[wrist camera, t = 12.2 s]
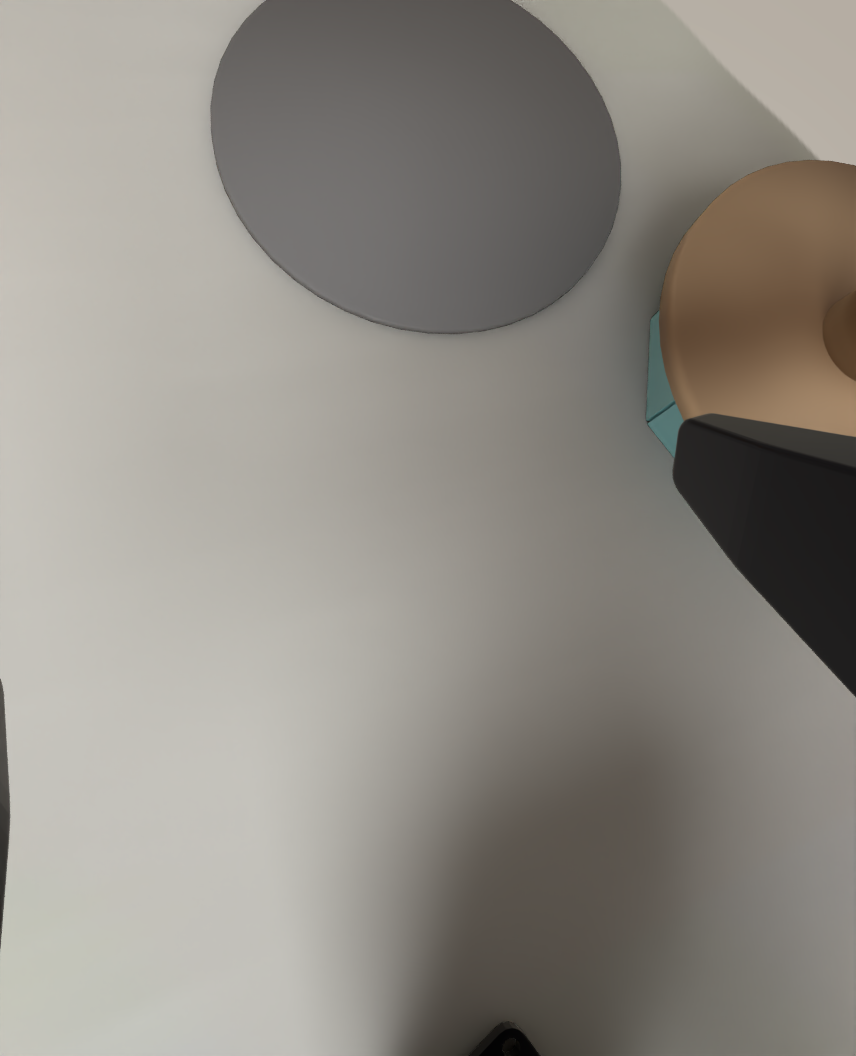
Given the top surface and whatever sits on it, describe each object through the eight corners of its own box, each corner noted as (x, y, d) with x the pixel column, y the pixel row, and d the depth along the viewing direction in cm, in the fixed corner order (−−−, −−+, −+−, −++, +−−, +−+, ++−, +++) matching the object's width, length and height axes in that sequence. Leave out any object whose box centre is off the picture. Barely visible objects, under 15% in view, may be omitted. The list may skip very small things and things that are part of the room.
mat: (690, 210, 28) (696, 204, 28) (388, 414, 24) (390, 409, 23) (455, -79, 29) (457, -89, 28) (121, 68, 25) (118, 58, 24)
